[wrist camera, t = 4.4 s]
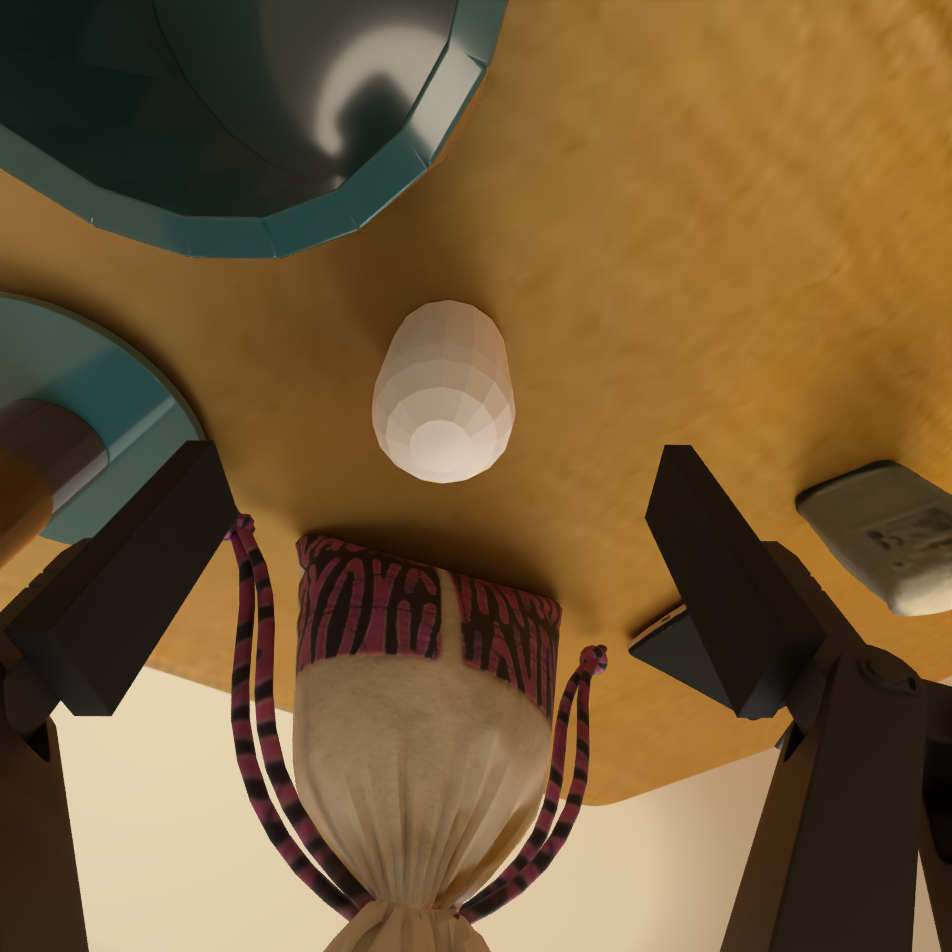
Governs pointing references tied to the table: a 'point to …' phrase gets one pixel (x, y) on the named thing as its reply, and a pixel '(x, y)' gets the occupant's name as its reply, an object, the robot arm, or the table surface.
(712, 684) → the smartphone
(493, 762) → the pouch
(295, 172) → the pot
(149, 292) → the table surface
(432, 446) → the capsule
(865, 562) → the cream tapered case
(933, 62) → the table surface
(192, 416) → the lid
